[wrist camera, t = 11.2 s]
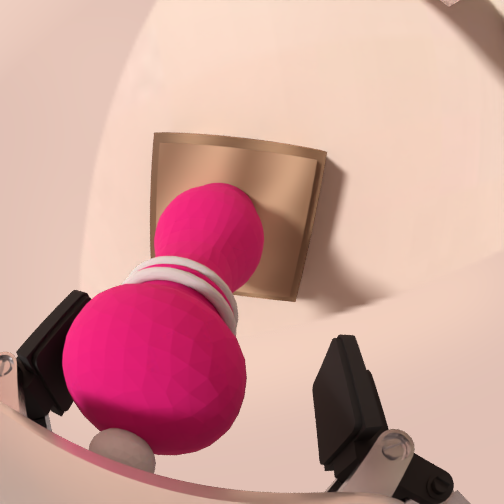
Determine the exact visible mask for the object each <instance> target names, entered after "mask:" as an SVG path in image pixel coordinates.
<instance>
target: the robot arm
mask: <svg viewBox="0 0 504 504" xmlns="http://www.w3.org/2000/svg"><path fill="white" fill-rule="evenodd" d="M90 300H91V298H90V297H89V295H88V294H87V293H85V292H81V291H78V290H74V291H72V292H71V293H70V294H69V295H68V296H67V297H66V298H65V299H64V300H63V301H62V302H61V303H60V305H58V306H57V307H56V308H55V310H54V311H53V312H52V313H51V314H50V315H49V316H48V317H47V318H46V319H45V320H44V321H43V322H42V323H41V324H40V326H39V327H38V328H37V329H36V330H35V331H34V332H33V333H32V334H31V336H30V337H29V338H28V339H27V340H26V341H25V342H24V343H23V345H22V346H21V347H20V348H19V349H18V351H17V352H16V353H17V355H18V357H17V358H15V356H14V355H13V354H12V353H9V352H2V353H0V504H470V503H469V502H468V501H467V500H466V499H465V498H464V496H463V495H462V494H461V493H460V492H459V491H458V490H457V491H455V492H454V491H453V487H454V483H453V480H452V477H451V476H450V474H449V473H447V472H446V471H444V470H443V469H441V468H439V467H437V466H435V465H434V464H432V463H430V462H429V461H427V460H425V459H423V458H422V457H420V456H418V455H417V454H415V453H414V443H413V440H412V438H411V437H410V436H409V435H408V434H407V433H405V432H404V431H401V430H398V429H390V430H389V429H388V426H387V423H386V419H385V415H384V412H383V409H382V405H381V402H380V399H379V396H378V392H377V389H376V386H375V383H374V380H373V377H372V374H371V372H370V371H369V370H366V367H365V364H364V361H363V358H362V355H361V353H360V349H359V347H358V344H357V341H356V338H355V336H353V335H338V337H337V338H333V339H332V342H331V344H330V347H329V349H328V351H327V354H326V356H325V359H324V361H323V364H322V366H321V368H320V370H319V373H318V375H317V377H316V379H315V381H314V384H313V400H314V409H315V418H316V428H317V438H318V448H319V460H320V464H322V465H324V466H325V467H324V468H325V471H333V470H334V475H335V478H336V479H335V481H333V483H332V484H331V485H330V486H329V488H328V489H327V490H326V491H325V492H324V493H272V492H254V491H243V490H233V489H225V488H218V487H211V486H205V485H200V484H194V483H190V482H185V481H180V480H176V479H172V478H168V477H164V476H160V475H156V474H153V473H149V472H146V471H143V470H140V469H136V468H133V467H130V466H128V465H125V464H122V463H119V462H116V461H114V460H111V459H109V458H106V457H104V456H101V455H99V454H96V453H94V452H92V451H89V450H87V449H85V448H83V447H81V446H78V445H76V444H74V443H72V442H70V441H68V440H66V439H64V438H62V437H60V436H59V435H57V434H55V433H53V432H52V429H51V424H50V420H49V415H48V413H49V412H50V410H51V411H52V412H54V413H56V414H58V415H60V416H62V415H63V413H64V411H67V410H68V409H69V408H70V406H71V404H72V403H73V399H72V397H71V395H70V393H69V391H68V388H67V385H66V381H65V377H64V372H63V366H62V359H63V349H64V345H65V340H66V336H67V333H68V331H69V329H70V327H71V325H72V323H73V321H74V319H75V318H76V317H77V315H78V314H79V313H80V311H81V310H82V309H83V307H84V306H85V305H86V304H87V303H88V302H89V301H90Z"/></svg>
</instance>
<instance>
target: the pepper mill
mask: <svg viewBox="0 0 504 504" xmlns="http://www.w3.org/2000/svg"><path fill="white" fill-rule="evenodd" d="M263 246H264V231H263V226H262V223H261V220H260V218H259V216H258V214H257V212H256V209H255V207H254V204H253V203H252V201H251V199H250V198H249V197H248V196H247V195H246V194H245V193H244V192H243V191H242V190H240V189H239V188H237V187H235V186H233V185H230V184H226V183H210V184H206V185H203V186H199V187H195V188H191V189H189V190H187V191H184V192H183V193H181V194H180V195H178V196H177V197H176V198H175V199H174V200H172V201H171V202H170V204H169V205H168V206H167V207H166V208H165V210H164V212H163V213H162V215H161V216H160V218H159V221H158V223H157V227H156V231H155V237H154V249H155V255H156V256H155V258H151V259H149V260H147V261H144V262H142V263H141V264H139V265H138V266H136V267H135V268H134V269H133V270H132V271H131V273H130V274H129V276H128V278H127V279H125V280H124V281H123V283H122V284H121V285H119V286H116V287H113V288H111V289H108V290H106V291H104V292H101V293H99V294H98V295H96V296H95V297H94V298H93V299H91V300H90V301H89V302H88V303H87V304H86V305H85V306H84V307H83V309H82V310H81V311H80V313H79V314H78V315H77V317H76V318H75V319H74V321H73V323H72V325H71V327H70V329H69V331H68V333H67V336H66V340H65V345H64V349H63V359H62V366H63V372H64V377H65V381H66V385H67V388H68V391H69V393H70V395H71V397H72V399H73V401H74V402H75V404H76V405H77V407H78V408H79V410H80V411H81V412H82V414H83V415H84V416H85V417H86V418H87V419H88V420H89V421H90V422H91V423H92V424H93V425H94V426H95V427H96V428H97V429H98V430H99V431H101V432H100V433H99V434H97V435H96V436H94V438H93V440H92V441H91V443H90V446H89V451H92V452H94V453H96V454H99V455H101V456H104V457H106V458H109V459H111V460H114V461H116V462H119V463H122V464H125V465H128V466H130V467H133V468H136V469H140V470H143V471H146V472H149V473H153V474H154V470H155V464H156V462H155V457H154V454H157V455H180V454H186V453H191V452H196V451H199V450H201V449H203V448H206V447H208V446H210V445H211V444H213V443H214V442H215V441H216V440H218V439H219V438H220V437H221V436H222V435H224V434H225V433H226V432H227V431H228V430H229V429H230V427H231V426H232V424H233V422H234V421H235V419H236V417H237V416H238V414H239V411H240V408H241V405H242V402H243V399H244V395H245V388H246V379H247V377H246V365H245V359H244V356H243V354H242V351H241V348H240V346H239V343H238V341H237V338H236V327H237V322H238V309H237V303H236V301H235V298H234V296H233V294H232V293H233V292H235V291H236V290H238V289H239V288H240V287H242V286H243V285H244V284H245V283H246V282H247V281H248V280H249V279H250V277H251V276H252V275H253V273H254V272H255V270H256V268H257V266H258V264H259V262H260V259H261V255H262V251H263Z"/></svg>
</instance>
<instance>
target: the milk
mask: <svg viewBox="0 0 504 504" xmlns="http://www.w3.org/2000/svg"><path fill="white" fill-rule="evenodd" d="M440 1H442V2H443V3H444V4H446V5H447V6H451V5H453V4H454V3H456V2H458V1H460V0H440Z"/></svg>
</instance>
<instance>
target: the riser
mask: <svg viewBox="0 0 504 504" xmlns="http://www.w3.org/2000/svg"><path fill="white" fill-rule="evenodd" d="M326 155H327V152H325V151H322V150H318V149H313V148H307V147H302V146H296V145H290V144H284V143H277V142H271V141H264V140H256V139H248V138H239V137H230V136H219V135H207V134H191V133H169V132H162V133H154V140H153V153H152V170H151V196H150V249H151V258H155V256H156V255H155V249H154V237H155V231H156V227H157V223H158V221H159V218H160V216H161V215H162V213H163V212H164V210H165V208H166V207H167V206H168V205H169V204H170V202H171V201H172V200H174V199H175V198H176V197H177V196H178V195H180V194H181V193H183V192H184V191H187V190H189V189H191V188H195V187H199V186H203V185H206V184H210V183H226V184H230V185H233V186H235V187H237V188H239V189H240V190H242V191H243V192H244V193H245V194H246V195H247V196H248V197H249V198H250V199H251V201H252V203H253V204H254V207H255V209H256V212H257V214H258V216H259V218H260V220H261V223H262V226H263V231H264V246H263V251H262V255H261V259H260V262H259V264H258V266H257V268H256V270H255V272H254V273H253V275H252V276H251V277H250V279H249V280H248V281H247V282H246V283H245V284H244V285H243V286H242V287H240V288H239V289H238V290H236V291H235V292H233V293H232V294H233V295H240V296H248V297H256V298H264V299H273V300H282V301H291V302H295V301H296V297H297V293H298V289H299V285H300V281H301V277H302V273H303V269H304V264H305V260H306V256H307V251H308V247H309V242H310V238H311V233H312V228H313V223H314V219H315V214H316V209H317V204H318V199H319V194H320V188H321V183H322V178H323V172H324V166H325V161H326Z"/></svg>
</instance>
